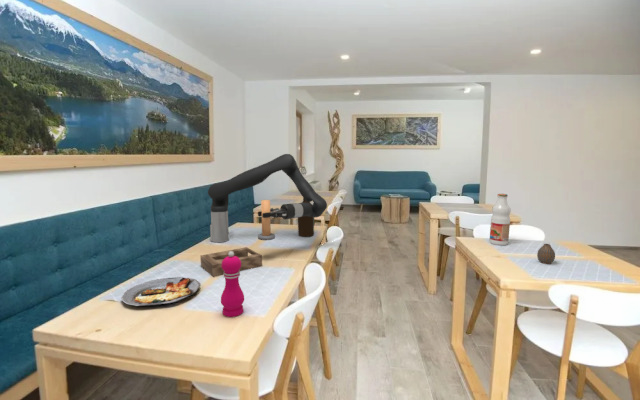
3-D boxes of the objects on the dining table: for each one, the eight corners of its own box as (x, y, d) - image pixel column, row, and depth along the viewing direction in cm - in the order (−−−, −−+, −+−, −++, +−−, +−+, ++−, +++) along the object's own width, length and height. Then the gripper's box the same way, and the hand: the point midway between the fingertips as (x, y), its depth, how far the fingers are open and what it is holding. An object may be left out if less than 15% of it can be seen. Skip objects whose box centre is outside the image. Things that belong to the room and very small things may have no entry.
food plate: (204, 279, 134) (203, 271, 134) (195, 306, 112) (194, 296, 111) (135, 286, 129) (134, 277, 129) (112, 315, 107) (111, 305, 106)
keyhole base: (246, 257, 163) (246, 247, 162) (262, 266, 151) (261, 255, 150) (200, 266, 150) (200, 255, 149) (213, 276, 137) (213, 265, 137)
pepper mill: (223, 307, 110) (221, 248, 108) (246, 306, 111) (244, 248, 108) (219, 318, 103) (216, 255, 100) (243, 317, 104) (241, 254, 101)
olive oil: (300, 237, 200) (300, 196, 197) (295, 233, 210) (295, 194, 207) (317, 236, 204) (317, 195, 201) (311, 232, 214) (311, 193, 211)
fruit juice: (510, 246, 184) (514, 195, 180) (491, 245, 187) (495, 194, 183) (505, 241, 193) (509, 193, 189) (487, 240, 196) (491, 192, 192)
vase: (552, 261, 159) (554, 243, 157) (555, 265, 152) (557, 247, 151) (535, 259, 162) (537, 241, 160) (537, 263, 155) (539, 245, 154)
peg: (256, 240, 156) (255, 201, 153) (259, 235, 164) (259, 199, 161) (273, 240, 155) (272, 201, 153) (276, 236, 163) (275, 199, 161)
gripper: (284, 201, 171) (253, 204, 161) (299, 205, 160) (267, 209, 150) (284, 216, 173) (253, 220, 162) (299, 220, 161) (268, 225, 151)
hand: (260, 214), depth 156 cm, fingers closed on peg, 4 cm apart
